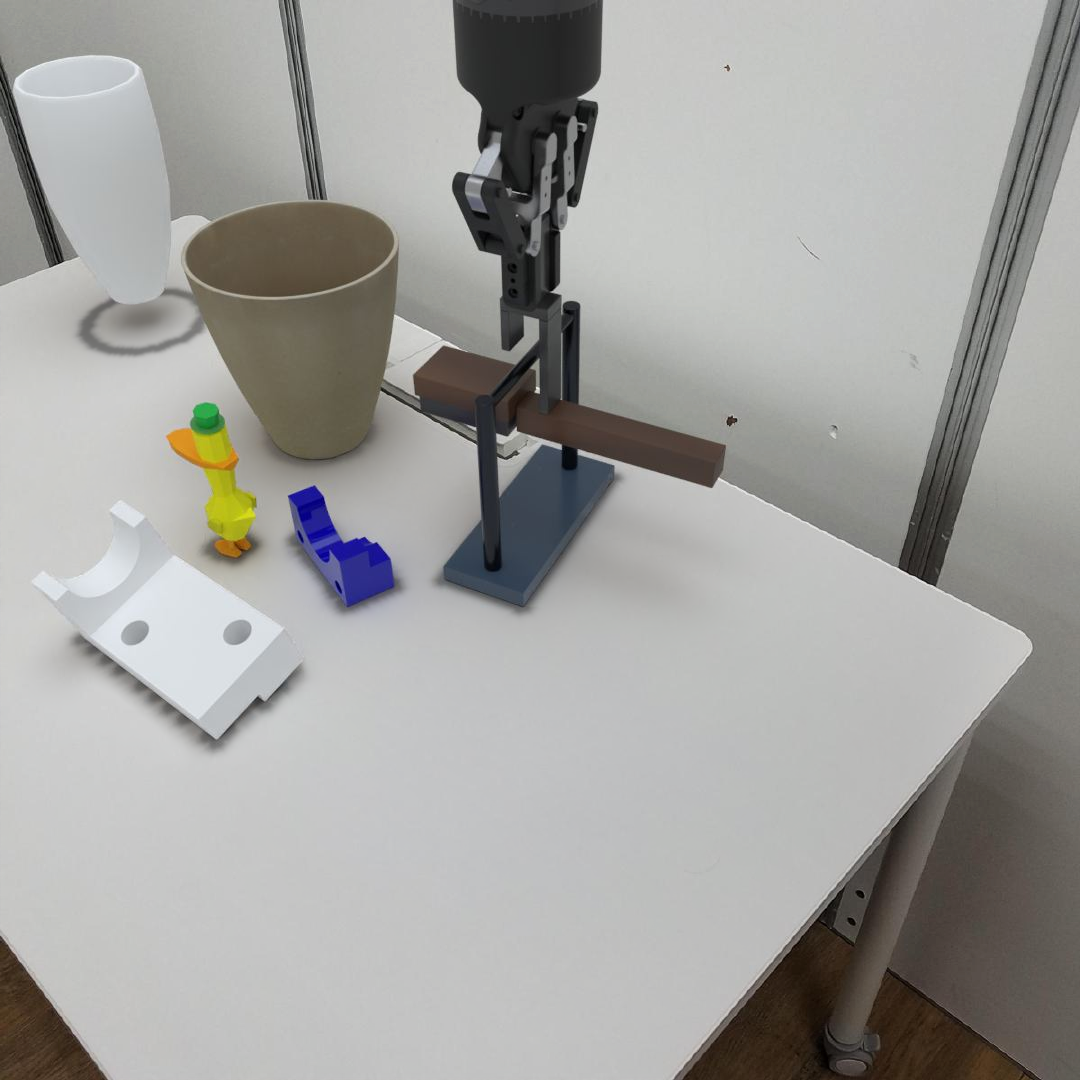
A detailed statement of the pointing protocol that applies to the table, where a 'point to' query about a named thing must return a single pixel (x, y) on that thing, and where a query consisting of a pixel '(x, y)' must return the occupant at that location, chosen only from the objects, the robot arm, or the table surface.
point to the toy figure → (217, 477)
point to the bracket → (174, 626)
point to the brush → (556, 398)
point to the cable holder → (339, 550)
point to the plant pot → (300, 315)
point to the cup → (101, 168)
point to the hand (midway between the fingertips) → (531, 295)
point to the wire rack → (528, 492)
